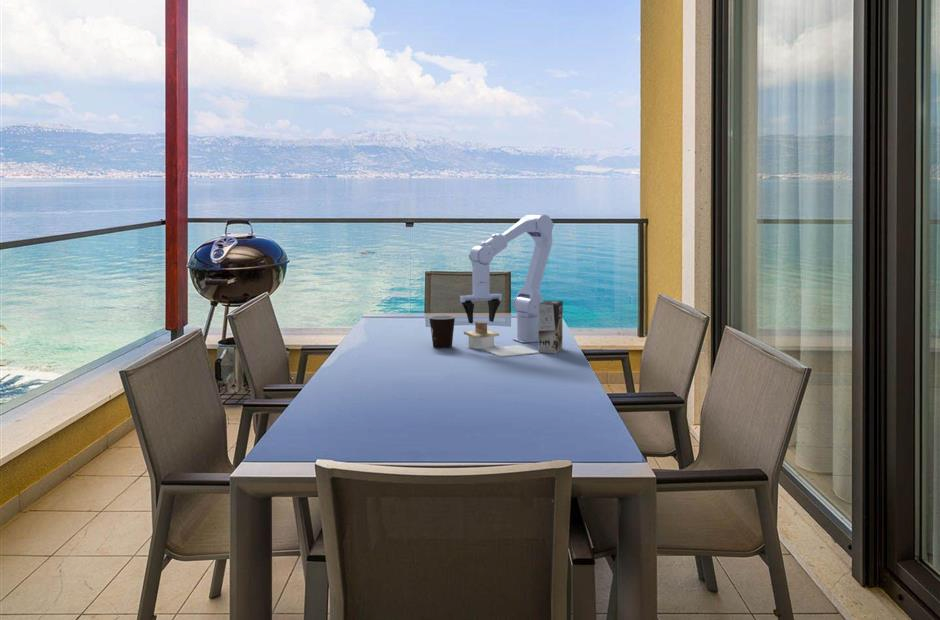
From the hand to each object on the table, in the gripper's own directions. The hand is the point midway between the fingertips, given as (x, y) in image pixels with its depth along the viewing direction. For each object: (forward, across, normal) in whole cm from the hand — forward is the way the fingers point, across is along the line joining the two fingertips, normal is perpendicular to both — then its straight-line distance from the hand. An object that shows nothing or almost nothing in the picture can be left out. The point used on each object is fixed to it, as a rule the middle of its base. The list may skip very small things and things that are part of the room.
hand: (481, 322), depth 287 cm
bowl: (+8, 0, 0) cm, 8 cm away
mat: (+8, +5, -12) cm, 15 cm away
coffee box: (+8, +18, -16) cm, 26 cm away
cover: (+4, 0, 0) cm, 4 cm away
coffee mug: (+9, -11, +7) cm, 16 cm away
